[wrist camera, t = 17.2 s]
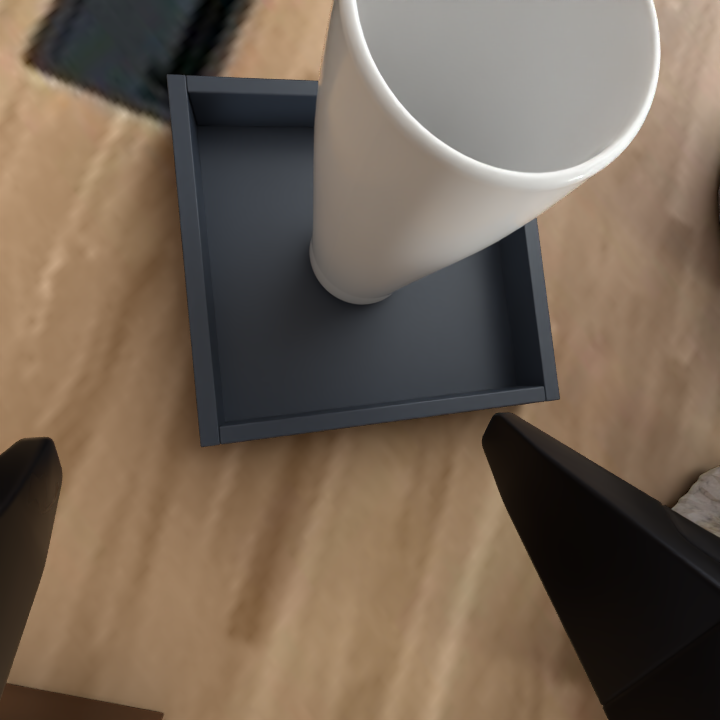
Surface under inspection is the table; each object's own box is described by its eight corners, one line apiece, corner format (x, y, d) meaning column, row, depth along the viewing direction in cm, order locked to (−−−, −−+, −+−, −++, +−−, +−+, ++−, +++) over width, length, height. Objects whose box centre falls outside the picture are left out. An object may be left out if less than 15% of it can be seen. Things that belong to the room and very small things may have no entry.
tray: (491, 123, 25) (520, 88, 22) (526, 397, 24) (560, 399, 21) (181, 116, 22) (166, 73, 19) (211, 439, 21) (200, 447, 18)
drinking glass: (289, 314, 21) (321, 156, 7) (298, 187, 22) (347, -214, 7) (414, 325, 23) (668, 215, 8) (421, 205, 23) (669, -102, 9)
